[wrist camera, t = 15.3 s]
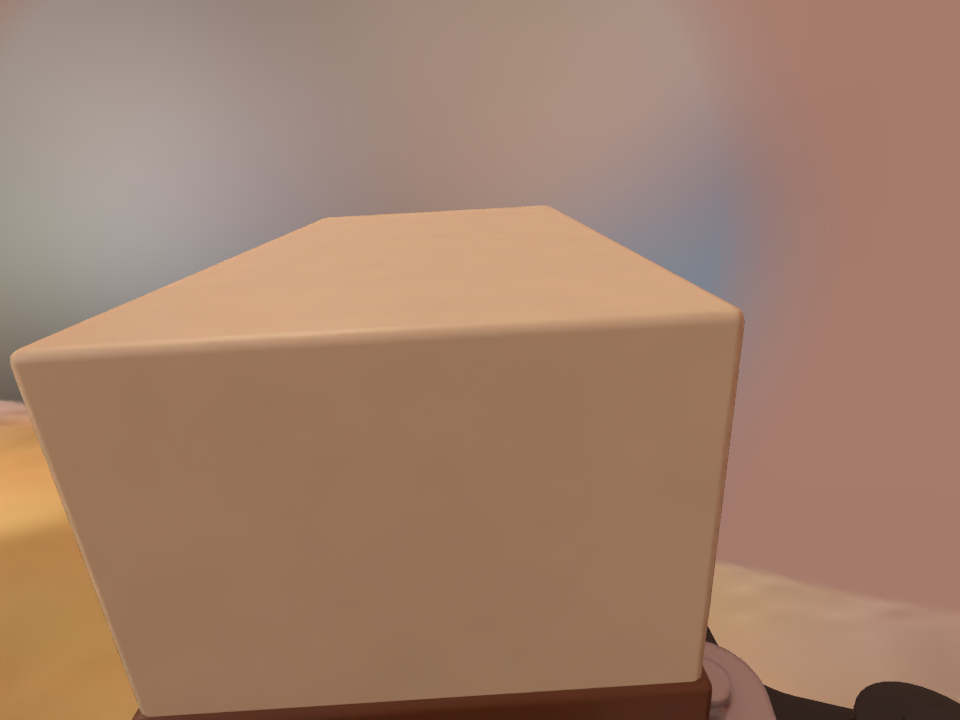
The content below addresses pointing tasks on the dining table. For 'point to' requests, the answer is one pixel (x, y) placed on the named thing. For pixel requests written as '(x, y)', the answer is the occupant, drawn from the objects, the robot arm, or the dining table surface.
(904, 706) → the robot arm
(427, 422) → the tan wooden block
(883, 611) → the dining table surface
